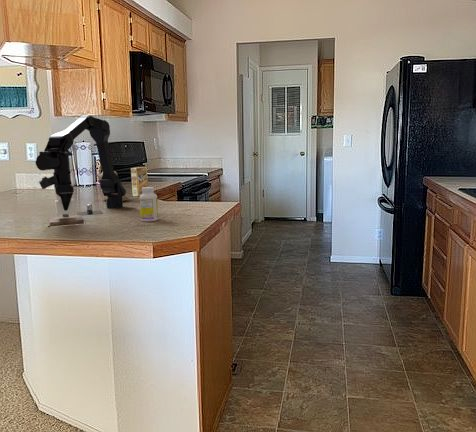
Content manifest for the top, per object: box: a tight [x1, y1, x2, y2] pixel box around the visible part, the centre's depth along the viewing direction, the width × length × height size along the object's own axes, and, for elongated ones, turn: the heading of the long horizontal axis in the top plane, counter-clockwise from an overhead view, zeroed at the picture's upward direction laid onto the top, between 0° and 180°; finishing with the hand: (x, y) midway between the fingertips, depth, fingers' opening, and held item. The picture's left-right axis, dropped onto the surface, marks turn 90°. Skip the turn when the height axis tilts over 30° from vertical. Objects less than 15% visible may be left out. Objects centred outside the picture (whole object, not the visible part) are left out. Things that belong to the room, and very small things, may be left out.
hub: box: [48, 214, 85, 227], centre depth 184 cm, size 12×12×5 cm
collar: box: [55, 198, 76, 216], centre depth 184 cm, size 6×6×5 cm
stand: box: [76, 203, 104, 217], centre depth 200 cm, size 10×10×4 cm
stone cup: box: [97, 170, 129, 202], centre depth 241 cm, size 15×12×15 cm
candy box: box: [130, 166, 149, 197], centre depth 262 cm, size 9×4×15 cm, turn 150°
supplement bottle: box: [139, 186, 159, 223], centre depth 185 cm, size 7×7×13 cm
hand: (65, 209), depth 184 cm, fingers closed on collar, 6 cm apart
